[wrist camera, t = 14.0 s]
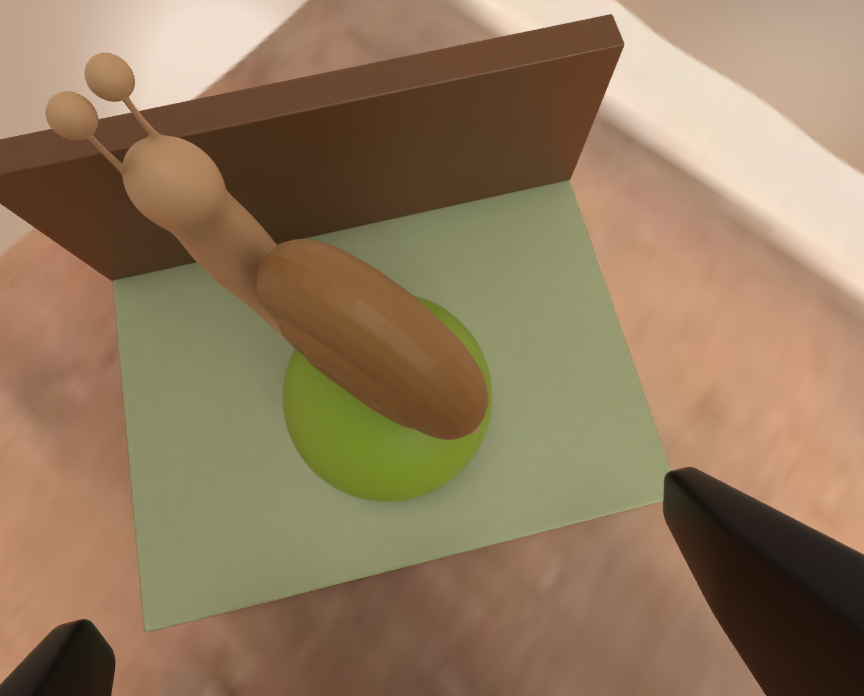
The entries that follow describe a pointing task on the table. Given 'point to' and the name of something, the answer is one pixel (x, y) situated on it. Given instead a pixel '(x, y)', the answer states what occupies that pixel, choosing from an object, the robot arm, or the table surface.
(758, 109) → the table surface
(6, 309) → the table surface
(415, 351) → the snail figurine
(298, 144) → the bench with backrest
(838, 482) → the table surface
